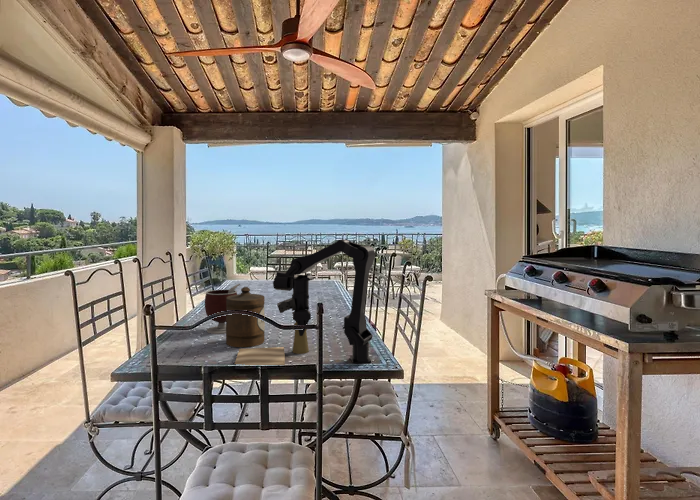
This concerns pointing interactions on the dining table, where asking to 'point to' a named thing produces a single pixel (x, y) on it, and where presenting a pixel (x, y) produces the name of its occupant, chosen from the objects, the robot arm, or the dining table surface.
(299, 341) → the cork
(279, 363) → the serving board
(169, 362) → the dining table surface
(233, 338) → the wooden container
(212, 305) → the mate gourd
